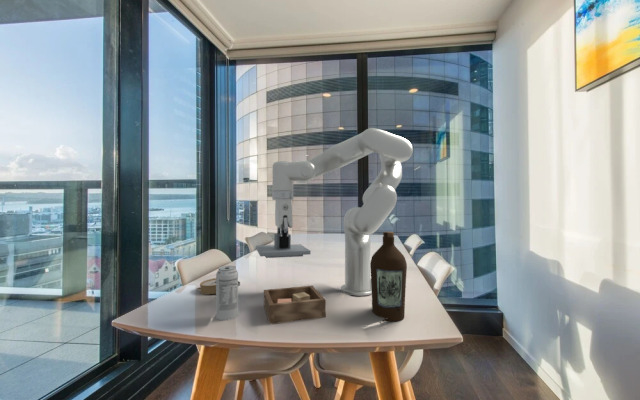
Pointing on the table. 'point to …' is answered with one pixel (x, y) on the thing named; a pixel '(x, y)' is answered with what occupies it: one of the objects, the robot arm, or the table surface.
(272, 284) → the table surface
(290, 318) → the box
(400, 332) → the table surface
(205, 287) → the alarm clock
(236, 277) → the energy drink can
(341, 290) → the robot arm
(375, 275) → the olive oil
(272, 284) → the table surface
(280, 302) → the terracotta block
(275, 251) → the lid
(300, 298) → the maple block
